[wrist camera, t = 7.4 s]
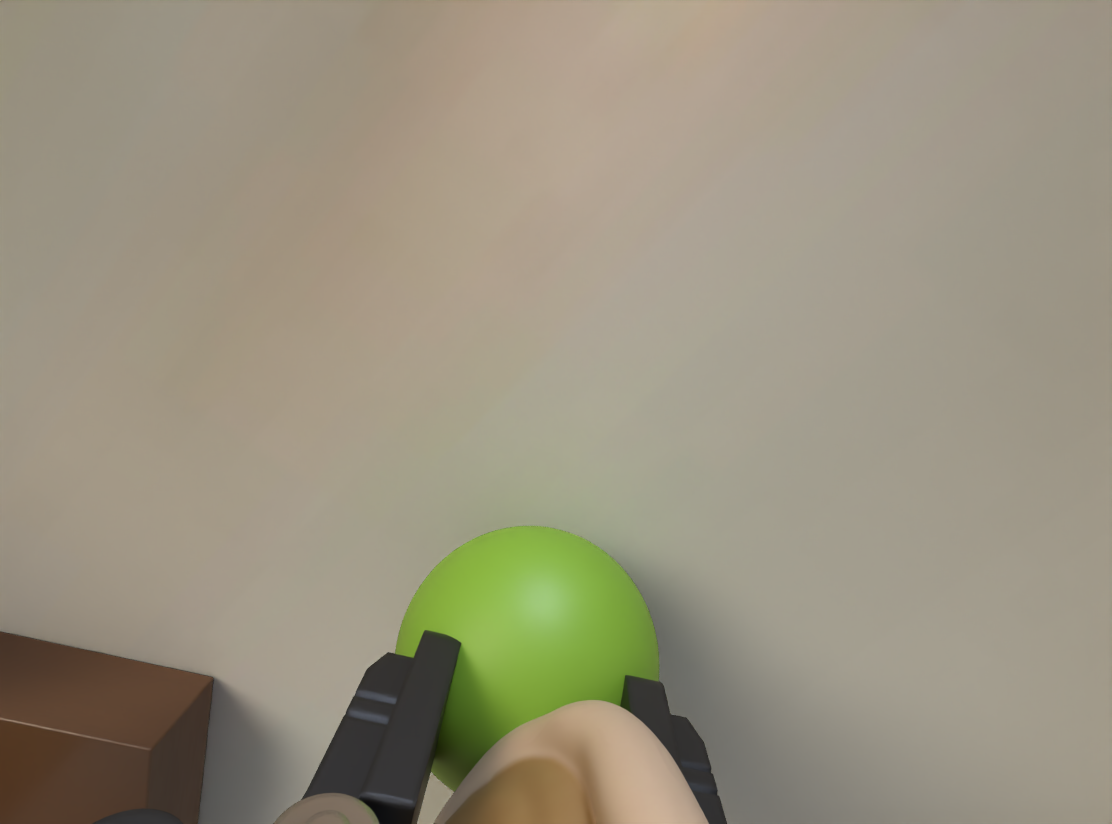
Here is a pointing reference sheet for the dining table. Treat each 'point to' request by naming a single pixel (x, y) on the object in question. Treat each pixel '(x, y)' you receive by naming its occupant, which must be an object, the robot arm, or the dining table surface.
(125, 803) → the dial panel
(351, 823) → the robot arm
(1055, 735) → the dining table surface
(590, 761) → the snail figurine
